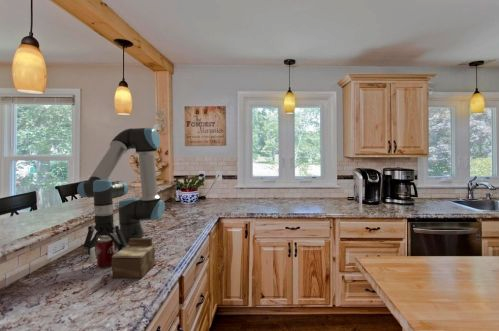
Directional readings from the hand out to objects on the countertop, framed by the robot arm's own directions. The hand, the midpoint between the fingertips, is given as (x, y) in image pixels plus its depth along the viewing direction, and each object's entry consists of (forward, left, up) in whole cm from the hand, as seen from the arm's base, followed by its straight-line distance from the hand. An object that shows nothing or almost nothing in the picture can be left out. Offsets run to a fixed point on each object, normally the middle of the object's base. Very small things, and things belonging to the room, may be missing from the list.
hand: (106, 262), depth 131 cm
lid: (+6, +16, +7) cm, 18 cm away
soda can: (0, 0, -2) cm, 2 cm away
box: (+6, +16, -2) cm, 17 cm away
